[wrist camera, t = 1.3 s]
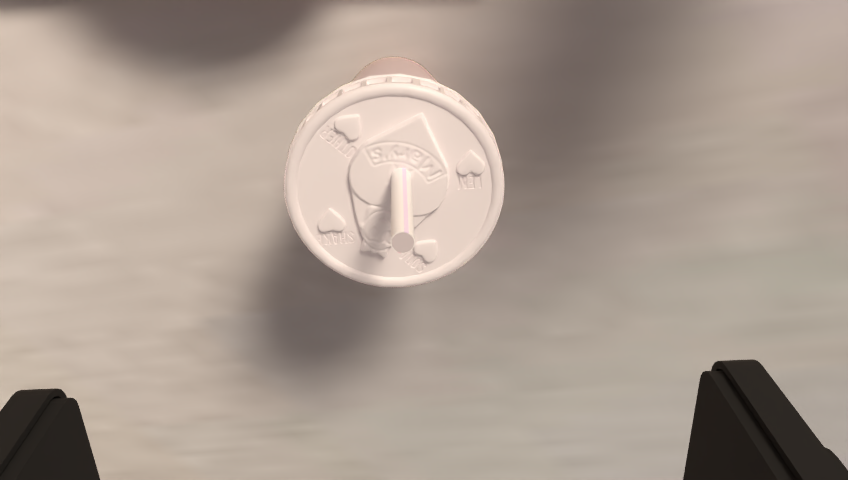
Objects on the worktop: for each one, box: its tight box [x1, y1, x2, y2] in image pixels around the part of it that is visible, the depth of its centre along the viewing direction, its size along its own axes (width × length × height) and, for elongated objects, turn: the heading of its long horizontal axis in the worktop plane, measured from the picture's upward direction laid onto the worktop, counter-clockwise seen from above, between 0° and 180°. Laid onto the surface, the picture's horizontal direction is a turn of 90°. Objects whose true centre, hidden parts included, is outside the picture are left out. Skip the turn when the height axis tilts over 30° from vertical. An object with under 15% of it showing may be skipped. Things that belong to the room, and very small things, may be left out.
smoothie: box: [284, 57, 504, 288], centre depth 23 cm, size 6×6×14 cm
